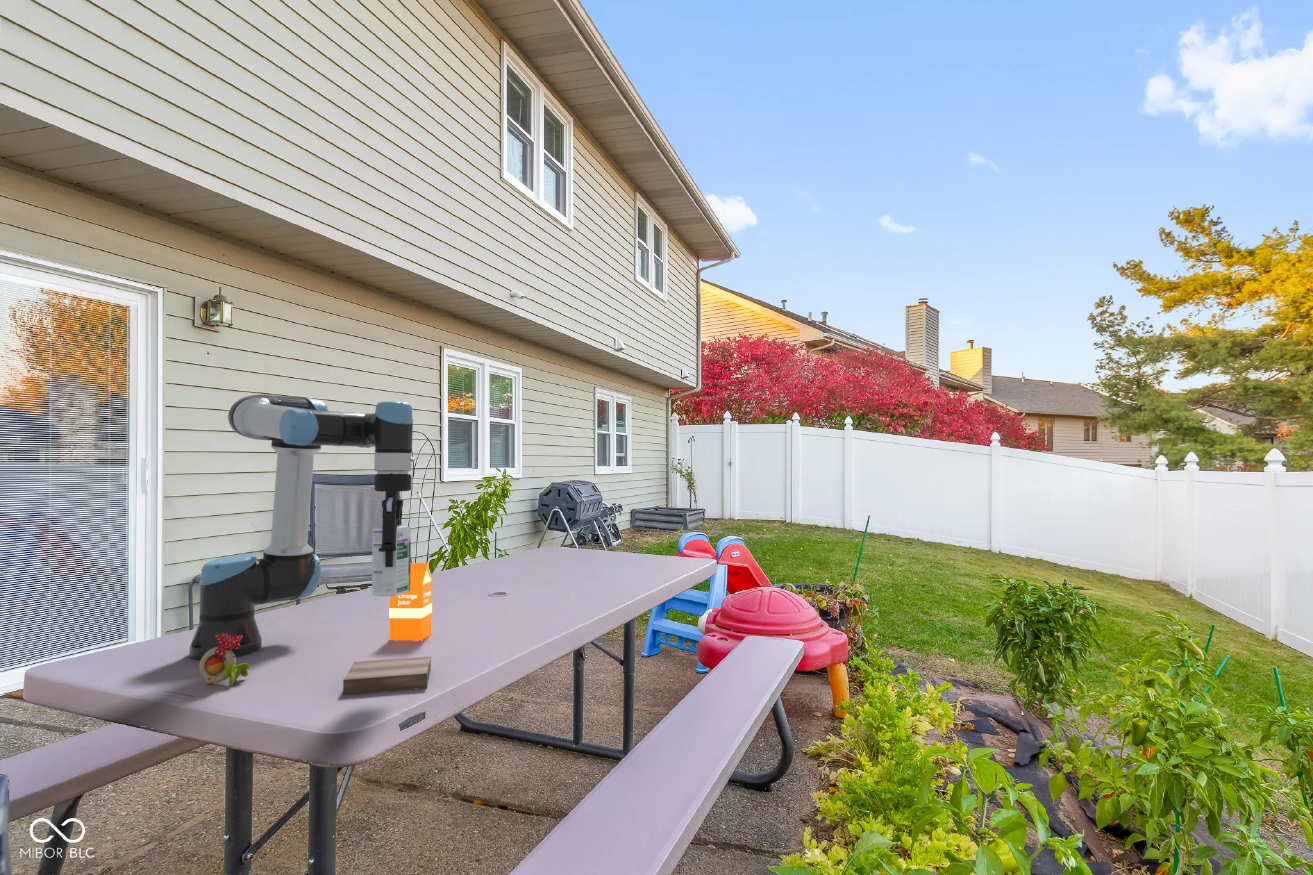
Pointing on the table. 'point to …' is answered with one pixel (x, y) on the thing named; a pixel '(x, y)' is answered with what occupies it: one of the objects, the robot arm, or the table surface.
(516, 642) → the table surface
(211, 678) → the bird rattle
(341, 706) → the table surface
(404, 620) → the orange juice
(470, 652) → the table surface
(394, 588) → the syrup box
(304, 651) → the table surface
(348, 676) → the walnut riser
